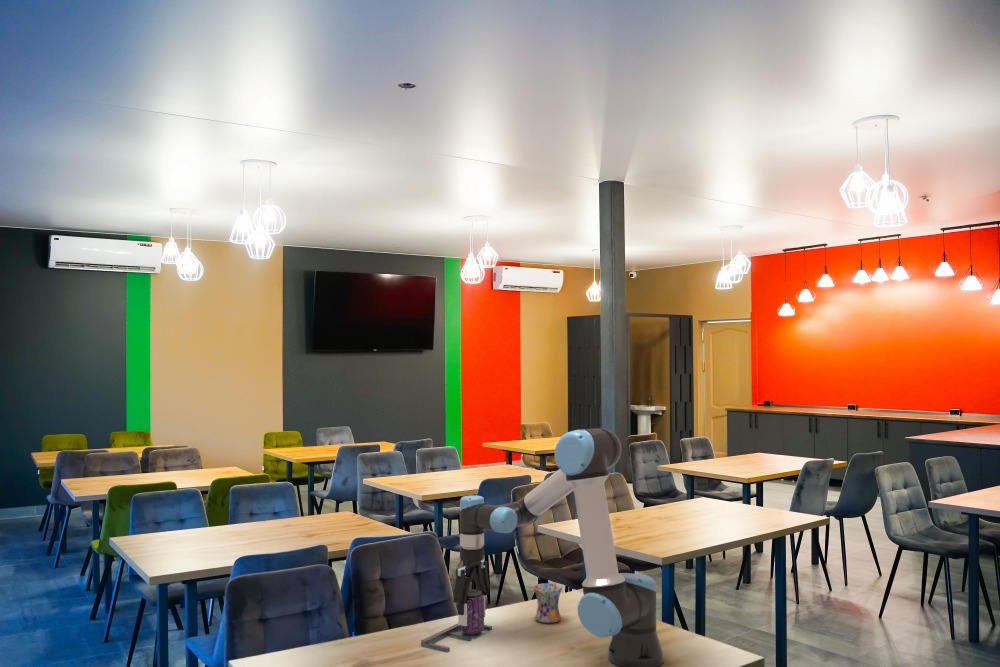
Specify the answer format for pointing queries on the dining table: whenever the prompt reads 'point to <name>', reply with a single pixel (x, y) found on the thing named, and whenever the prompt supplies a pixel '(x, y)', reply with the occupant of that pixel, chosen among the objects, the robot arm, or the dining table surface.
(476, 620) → the beverage can
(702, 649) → the dining table surface
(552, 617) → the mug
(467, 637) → the grey flat frame
